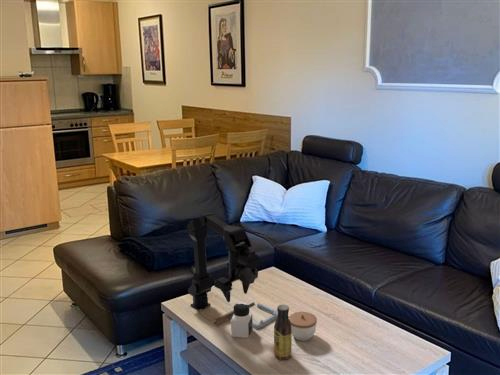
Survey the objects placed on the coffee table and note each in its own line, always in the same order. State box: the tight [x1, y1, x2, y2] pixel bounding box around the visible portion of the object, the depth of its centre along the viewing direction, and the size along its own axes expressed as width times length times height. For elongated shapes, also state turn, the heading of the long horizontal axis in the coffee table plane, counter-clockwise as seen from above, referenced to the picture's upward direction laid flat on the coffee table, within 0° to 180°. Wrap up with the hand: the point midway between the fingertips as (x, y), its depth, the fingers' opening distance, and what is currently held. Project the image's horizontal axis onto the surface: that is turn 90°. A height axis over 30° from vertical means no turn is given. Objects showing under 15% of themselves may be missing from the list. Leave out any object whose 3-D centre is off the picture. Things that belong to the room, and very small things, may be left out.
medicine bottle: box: [230, 302, 254, 339], centre depth 191 cm, size 7×7×12 cm
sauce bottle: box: [273, 304, 293, 361], centre depth 174 cm, size 6×6×20 cm
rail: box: [213, 301, 256, 325], centre depth 207 cm, size 1×23×1 cm, turn 136°
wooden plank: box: [215, 309, 234, 326], centre depth 202 cm, size 1×14×2 cm, turn 135°
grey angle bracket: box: [252, 302, 278, 330], centre depth 203 cm, size 12×14×2 cm
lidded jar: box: [288, 311, 318, 342], centre depth 187 cm, size 11×11×9 cm
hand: (237, 297), depth 191 cm, fingers open, 9 cm apart
